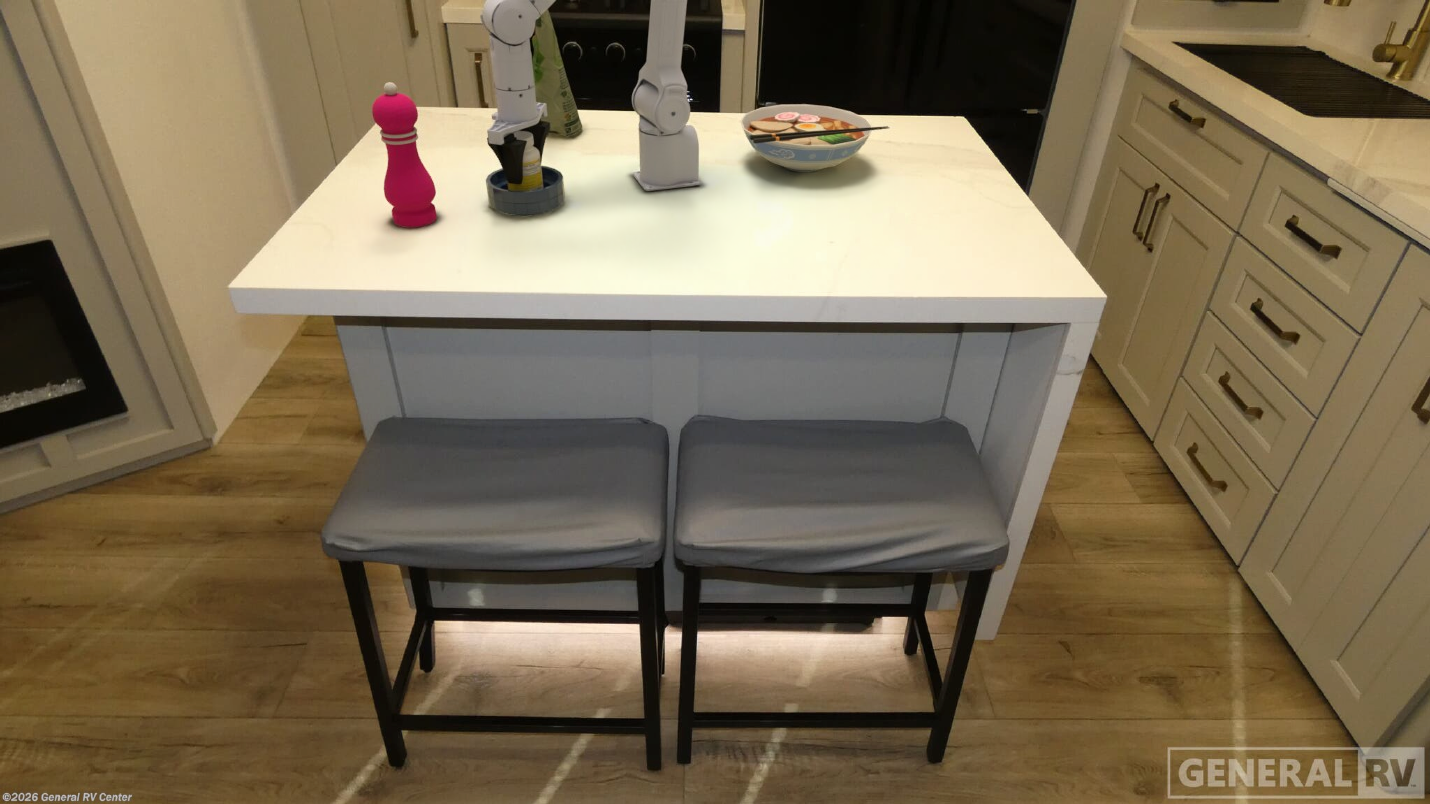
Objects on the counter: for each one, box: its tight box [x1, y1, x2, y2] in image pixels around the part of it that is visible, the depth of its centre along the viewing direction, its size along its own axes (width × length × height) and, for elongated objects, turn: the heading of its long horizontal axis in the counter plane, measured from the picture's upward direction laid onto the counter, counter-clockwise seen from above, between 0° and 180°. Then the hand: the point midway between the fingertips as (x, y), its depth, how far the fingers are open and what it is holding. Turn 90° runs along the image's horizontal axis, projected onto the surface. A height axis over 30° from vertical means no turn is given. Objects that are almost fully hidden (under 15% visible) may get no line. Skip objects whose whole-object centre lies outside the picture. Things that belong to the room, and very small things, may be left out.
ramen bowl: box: [739, 103, 890, 173], centre depth 150 cm, size 25×23×8 cm
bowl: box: [485, 165, 566, 217], centre depth 134 cm, size 12×12×4 cm
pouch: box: [531, 8, 583, 137], centre depth 157 cm, size 11×12×25 cm
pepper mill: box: [371, 81, 438, 228], centre depth 124 cm, size 7×7×20 cm
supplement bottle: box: [507, 131, 543, 191], centre depth 132 cm, size 5×5×10 cm
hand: (524, 176), depth 133 cm, fingers closed on supplement bottle, 5 cm apart
